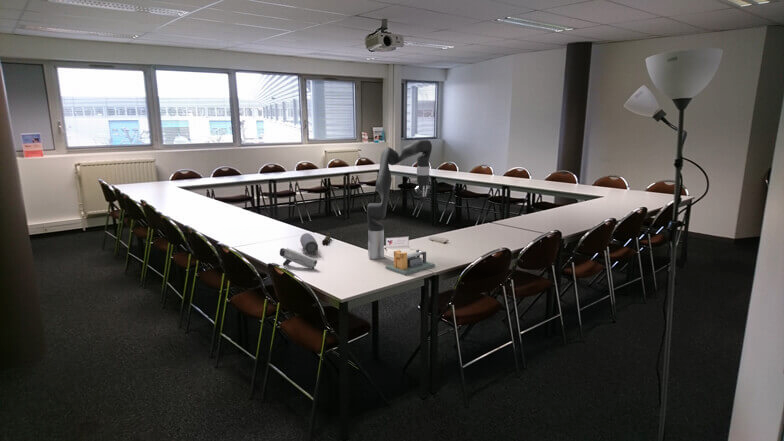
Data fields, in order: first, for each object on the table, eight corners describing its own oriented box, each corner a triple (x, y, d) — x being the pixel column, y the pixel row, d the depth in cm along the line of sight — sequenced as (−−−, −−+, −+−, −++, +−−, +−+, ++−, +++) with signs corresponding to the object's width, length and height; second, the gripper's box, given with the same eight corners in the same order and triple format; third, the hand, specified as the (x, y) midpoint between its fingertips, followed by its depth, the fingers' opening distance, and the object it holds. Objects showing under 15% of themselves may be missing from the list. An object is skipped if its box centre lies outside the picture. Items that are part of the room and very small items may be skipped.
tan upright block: (399, 265, 259) (399, 250, 257) (407, 268, 254) (407, 252, 252) (393, 267, 256) (393, 251, 254) (401, 269, 251) (401, 253, 249)
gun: (280, 261, 270) (282, 245, 267) (315, 276, 261) (317, 259, 258) (277, 262, 268) (279, 246, 265) (312, 277, 259) (315, 261, 256)
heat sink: (411, 261, 266) (411, 254, 266) (422, 264, 260) (422, 258, 259) (399, 264, 261) (399, 257, 260) (410, 268, 254) (410, 261, 253)
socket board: (415, 260, 273) (415, 247, 272) (434, 266, 262) (435, 252, 260) (385, 268, 259) (385, 254, 257) (404, 275, 247) (404, 260, 245)
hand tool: (328, 245, 310) (327, 238, 310) (322, 245, 311) (321, 238, 310) (333, 238, 329) (333, 232, 328) (327, 238, 329) (327, 232, 328)
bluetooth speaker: (299, 247, 305) (298, 233, 303) (313, 246, 307) (313, 231, 305) (304, 256, 283) (303, 241, 281) (319, 255, 286) (318, 239, 284)
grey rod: (420, 250, 266) (398, 256, 255) (424, 251, 263) (402, 257, 253) (420, 253, 266) (398, 259, 255) (424, 254, 264) (402, 260, 253)
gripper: (419, 175, 268) (419, 204, 271) (435, 173, 276) (435, 202, 279) (410, 174, 273) (410, 203, 277) (426, 172, 281) (426, 200, 285)
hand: (423, 202), depth 278 cm, fingers closed
